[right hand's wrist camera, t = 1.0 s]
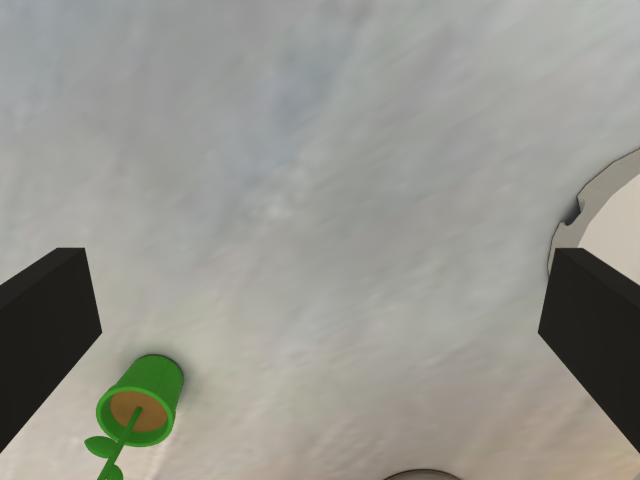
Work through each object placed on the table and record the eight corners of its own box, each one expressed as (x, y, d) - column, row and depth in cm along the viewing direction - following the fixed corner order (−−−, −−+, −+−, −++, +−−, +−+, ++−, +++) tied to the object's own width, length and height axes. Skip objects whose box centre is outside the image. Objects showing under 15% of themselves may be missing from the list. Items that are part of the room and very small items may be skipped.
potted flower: (107, 379, 51) (-75, 640, 27) (139, 333, 48) (-28, 574, 25) (177, 418, 53) (63, 691, 29) (211, 375, 50) (118, 635, 27)
